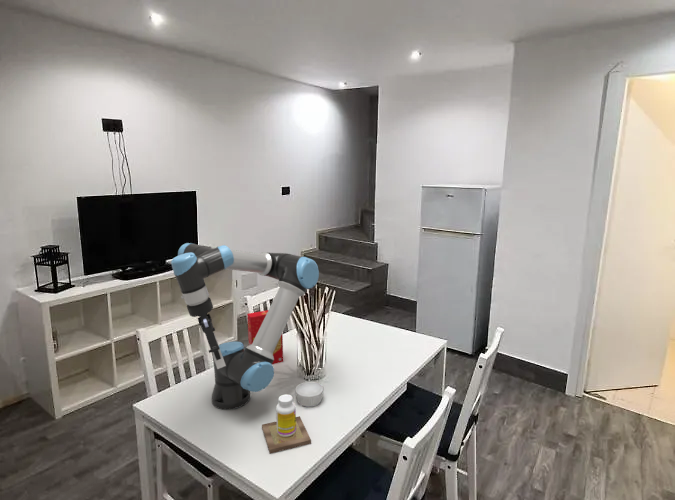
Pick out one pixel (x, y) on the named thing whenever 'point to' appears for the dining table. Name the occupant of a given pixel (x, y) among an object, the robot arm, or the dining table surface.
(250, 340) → the food packaging
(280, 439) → the walnut plinth
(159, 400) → the dining table surface
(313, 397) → the ramekin
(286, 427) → the supplement bottle
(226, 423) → the dining table surface
